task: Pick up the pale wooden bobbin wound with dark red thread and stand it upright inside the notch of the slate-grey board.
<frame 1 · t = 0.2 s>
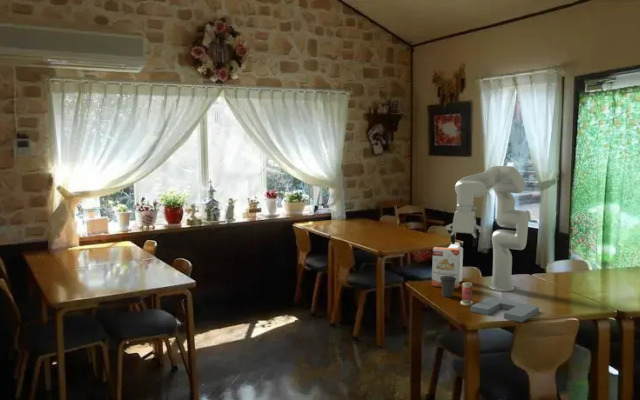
hand: (463, 244, 266), 30 cm above the table, tool pointing down, fingers open, 9 cm apart
coffee cup: (447, 296, 289), on the table
milk: (454, 281, 319), on the table
cracker box: (445, 286, 307), on the table
notched board: (504, 311, 262), on the table
bobbin: (466, 303, 275), on the table
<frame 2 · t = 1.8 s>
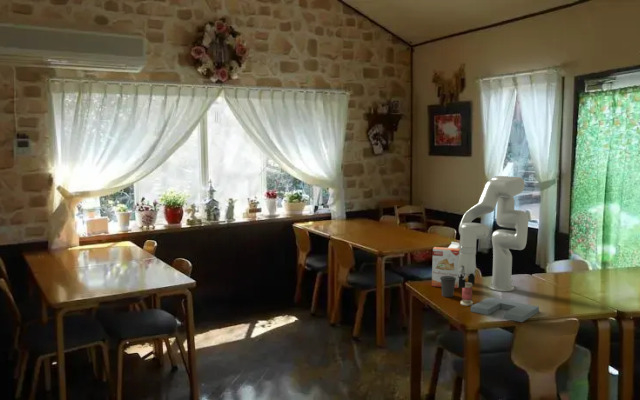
hand: (466, 285, 273), 9 cm above the table, tool pointing down, fingers open, 9 cm apart
nothing on the table moved.
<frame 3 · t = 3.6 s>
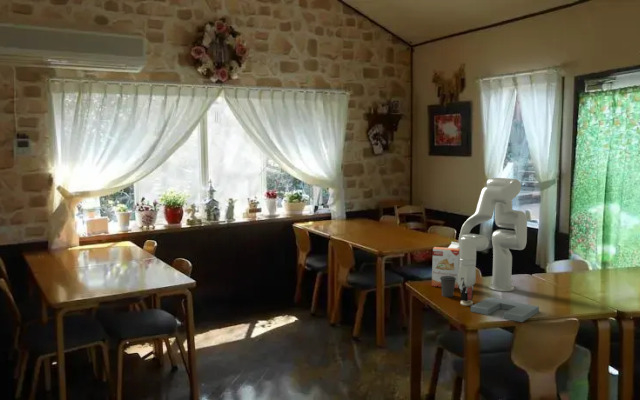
hand: (466, 299, 274), 2 cm above the table, tool pointing down, fingers closed on bobbin, 4 cm apart
bobbin: (466, 303, 275), on the table, touching gripper
everything else where it was.
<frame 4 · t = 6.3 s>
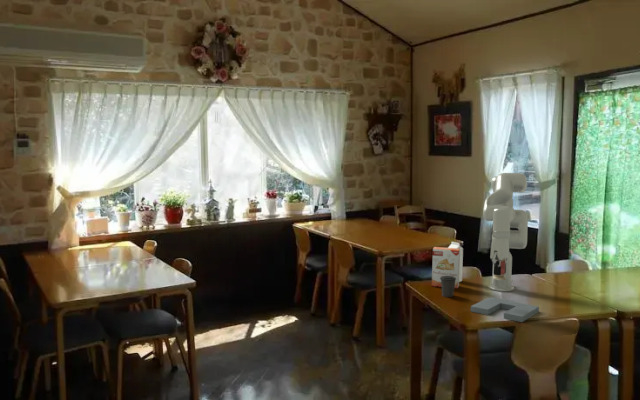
hand: (499, 273, 262), 18 cm above the table, tool pointing down, fingers closed on bobbin, 4 cm apart
bobbin: (499, 278, 262), point 15 cm above the table, touching gripper
everything else where it was.
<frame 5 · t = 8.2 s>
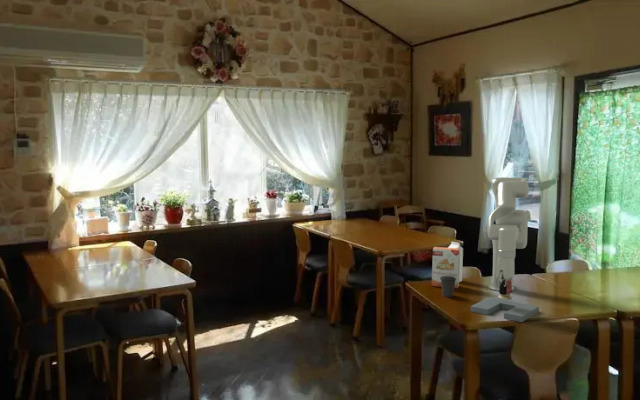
hand: (505, 292, 261), 9 cm above the table, tool pointing down, fingers closed on bobbin, 4 cm apart
bobbin: (505, 298, 261), point 6 cm above the table, touching gripper
everything else where it was.
when the fingers open (4 cm above the table, at t = 9.5 s): bobbin drops 1 cm, resting in notched board.
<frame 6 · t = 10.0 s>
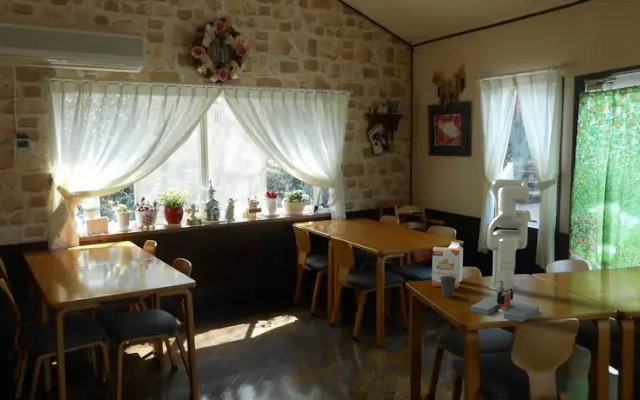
hand: (505, 301, 262), 5 cm above the table, tool pointing down, fingers open, 9 cm apart
bobbin: (504, 311, 262), resting in notched board
everything else where it was.
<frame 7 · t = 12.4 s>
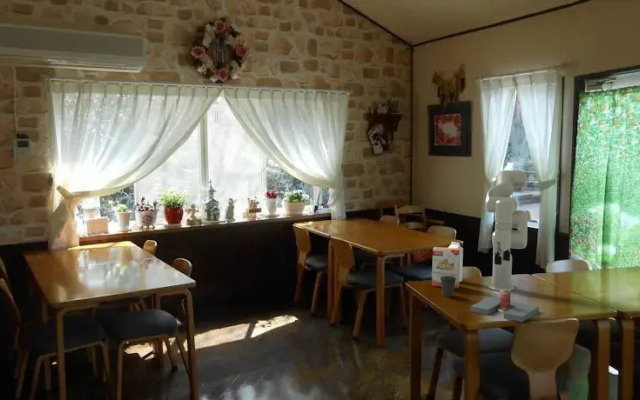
hand: (502, 262, 265), 22 cm above the table, tool pointing down, fingers open, 9 cm apart
nothing on the table moved.
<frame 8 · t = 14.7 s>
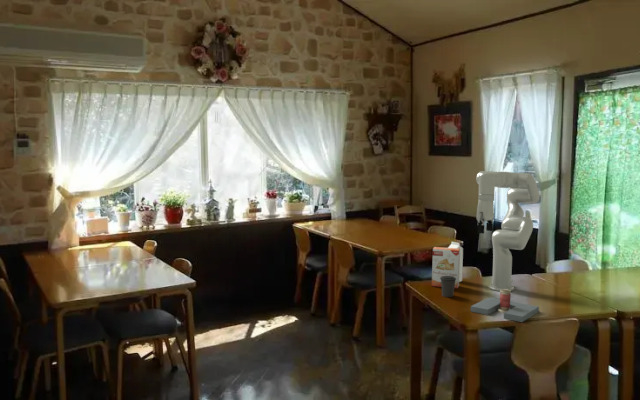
hand: (485, 231, 282), 33 cm above the table, tool pointing down, fingers open, 9 cm apart
nothing on the table moved.
at the end: bobbin 1.7 cm from the target spot on the notched board, point 0.0 cm above the notched board's base; bobbin tilted 0°; the gripper is holding nothing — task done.
